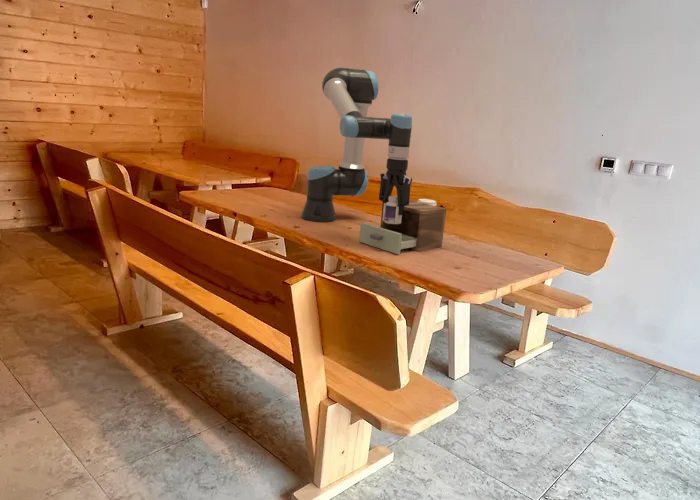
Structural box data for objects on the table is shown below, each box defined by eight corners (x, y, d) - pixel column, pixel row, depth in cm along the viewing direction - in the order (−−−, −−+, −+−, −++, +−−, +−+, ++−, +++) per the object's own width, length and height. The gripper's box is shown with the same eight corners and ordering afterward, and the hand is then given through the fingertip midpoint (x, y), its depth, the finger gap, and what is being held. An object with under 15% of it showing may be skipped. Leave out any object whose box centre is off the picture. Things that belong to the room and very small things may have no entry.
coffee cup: (417, 238, 211) (421, 202, 207) (410, 233, 219) (413, 198, 215) (436, 238, 213) (441, 202, 209) (428, 233, 221) (432, 198, 217)
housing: (379, 239, 205) (382, 201, 201) (402, 235, 215) (406, 199, 211) (418, 251, 191) (422, 211, 187) (441, 246, 201) (446, 208, 197)
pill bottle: (399, 224, 190) (402, 198, 188) (385, 223, 190) (387, 197, 187) (397, 221, 195) (400, 195, 193) (383, 220, 195) (386, 194, 192)
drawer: (354, 242, 196) (356, 223, 194) (384, 237, 207) (385, 219, 205) (392, 255, 182) (394, 235, 180) (422, 249, 193) (424, 230, 191)
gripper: (372, 155, 190) (366, 218, 196) (410, 161, 178) (403, 228, 183) (386, 155, 195) (380, 216, 201) (424, 161, 183) (417, 226, 189)
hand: (391, 221), depth 192 cm, fingers closed on pill bottle, 5 cm apart
